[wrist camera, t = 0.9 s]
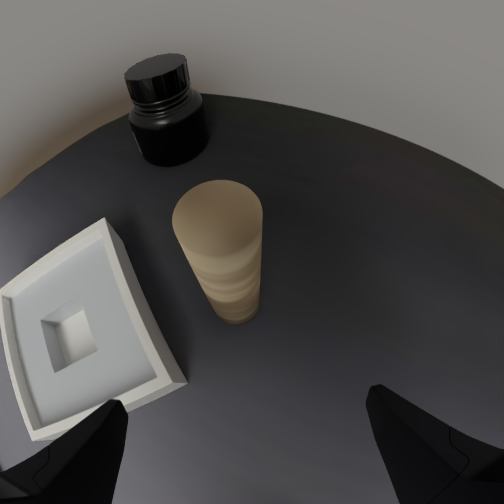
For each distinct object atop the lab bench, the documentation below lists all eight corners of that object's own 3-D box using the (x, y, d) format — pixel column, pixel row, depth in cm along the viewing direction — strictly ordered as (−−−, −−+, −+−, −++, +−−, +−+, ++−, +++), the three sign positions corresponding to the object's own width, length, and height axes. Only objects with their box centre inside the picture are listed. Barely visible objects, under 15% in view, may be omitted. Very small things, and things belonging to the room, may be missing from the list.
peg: (243, 333, 22) (229, 272, 11) (203, 309, 23) (154, 228, 12) (268, 294, 24) (279, 201, 12) (229, 272, 25) (207, 169, 13)
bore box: (188, 383, 20) (172, 382, 16) (61, 438, 17) (32, 441, 13) (122, 241, 26) (104, 217, 22) (21, 306, 23) (-3, 292, 19)
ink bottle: (174, 118, 36) (158, 47, 25) (223, 132, 34) (215, 51, 23) (127, 159, 32) (96, 85, 22) (176, 180, 30) (149, 91, 19)
